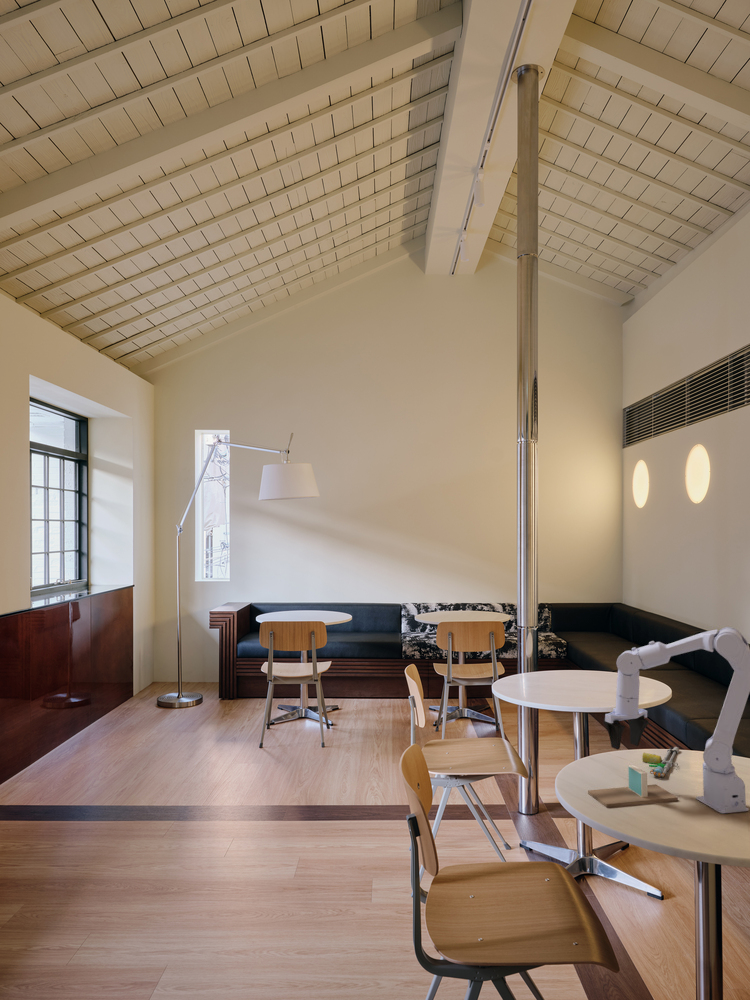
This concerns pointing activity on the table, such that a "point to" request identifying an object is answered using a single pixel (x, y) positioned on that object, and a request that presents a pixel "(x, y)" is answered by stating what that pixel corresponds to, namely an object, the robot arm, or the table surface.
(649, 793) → the board
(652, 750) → the table surface
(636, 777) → the tile
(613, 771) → the table surface
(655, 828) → the table surface
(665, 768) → the flamethrower
